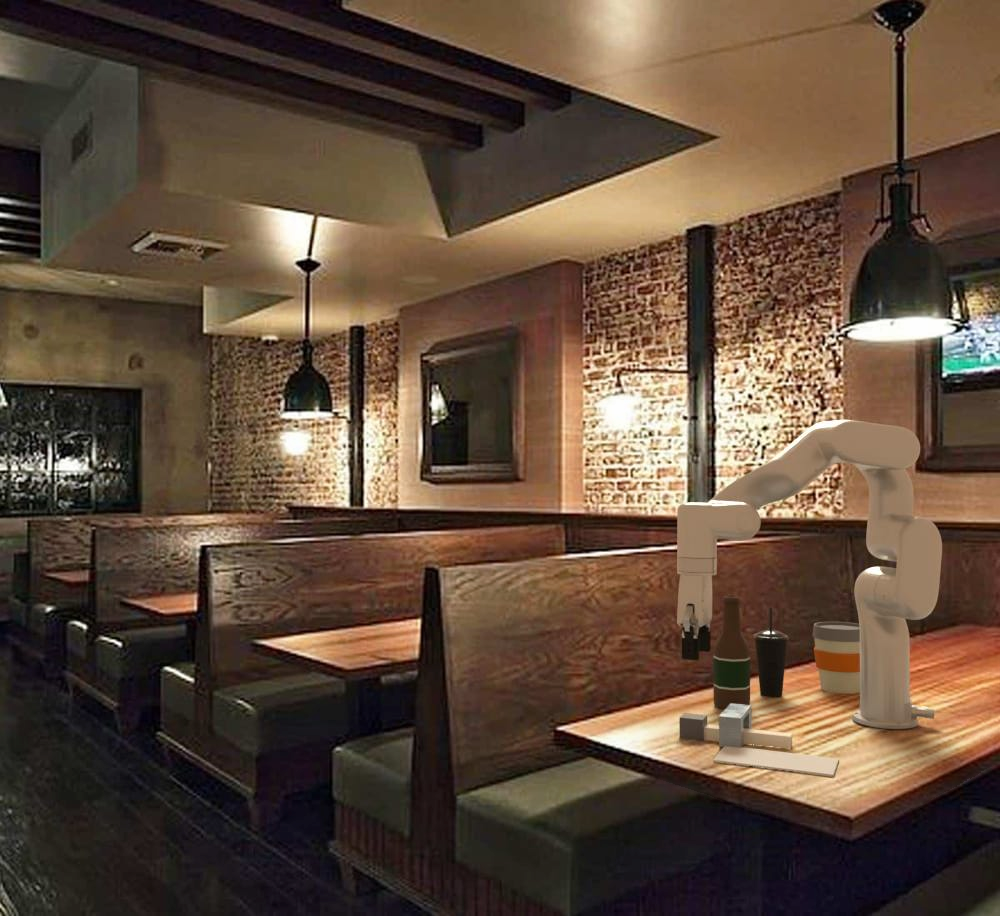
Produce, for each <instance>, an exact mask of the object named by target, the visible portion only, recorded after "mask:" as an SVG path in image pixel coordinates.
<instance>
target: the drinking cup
mask: <svg viewBox="0 0 1000 916" xmlns="http://www.w3.org/2000/svg"><path fill="white" fill-rule="evenodd" d="M768 610H769V611H768V612H769V615H768V619H769V620H768V621H769V622H768V626H769V627H768V629H765V630H761V631H758V632H757V633H754V634H753V638H754V642H755V651H756V662H757V663H756V664H757V672H758V684H759V693H760V694H759V695H760V696H762V697H766V698H781V697H782V696H783V689H784V677H785V666H786V651H787V645H788V644H787V643H788V640H789V636H788V635H787V634H785V633H783V632H781V631H779V630H775V629H773V607H769V608H768Z"/></svg>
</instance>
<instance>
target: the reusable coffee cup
mask: <svg viewBox="0 0 1000 916" xmlns="http://www.w3.org/2000/svg"><path fill="white" fill-rule="evenodd" d="M812 637H813V640H814V648H813V652H814V659H815V666H816V668H817V669H818V676H819V683H820V689H821V690H822V691H825V692H829V693H834V694H843V695H845V694H846V695H849V694H850V695H851V694H860V629H859V623H855V622H848V621H847V622H846V621H820V622H819V621H818V622H815V623H814V624H813V629H812Z"/></svg>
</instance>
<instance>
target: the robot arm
mask: <svg viewBox="0 0 1000 916" xmlns="http://www.w3.org/2000/svg"><path fill="white" fill-rule="evenodd" d="M920 453H921V445H920V441H919V438H918V437H917V435H916V434H915V433H914V432H913V431H912V430H910V429H908V428H906V427H905V426H903V427H902V426H898V425H889V424H882V423H875V422H874V423H873V422H867V421H859V420H853V419H851V420H850V419H839V420H828V421H822V422H818V423H815V424H814V425H811V426H810V427H809V428H808V429H806V430H805V431H804V432H803V433H802V434H800V435H799V436H797V438H795V440H794V441H792V442H791V443H790V444H788V445H787V446H786V447H785V448H784V449H783V450H780V452H779V453H778V454H777V455H776V456H774V457H773V458H771V459H770V460H769V461H767V462H766V463H764V464H762V465H760V466H758V467H756V468H755V469H753V470H752V471H750V472H749V473H746V474H745V475H742V476H740V477H739V478H737V479H736V480H734V481H733V482H731V483H730V484H728V485H727V486H726V487H724V488H723V489H722V490H721V491H719V492H718V493H717V494H716V495H714V496H713V497H712V498H711V499H709V501H708V502H684V503H681V504H679V506H678V508H677V519H676V520H677V528H676V530H677V532H676V533H677V535H676V536H677V537H676V538H677V541H676V542H677V546H676V548H677V552H676V553H677V555H676V560H677V561H676V569H677V570H676V573H677V574H678V575H680V577H679V583H678V593H677V595H678V596H677V610H676V611H677V615H676V616H677V617H676V624H678V627H682V628H681V630H682V633H681V659H683V660H689V661H698V660H700V652H706V653H709V652H710V651H711V648H712V647H711V641H712V640H711V639H712V638H711V622H712V618H713V578H712V577H713V576H716V575H717V573H718V572H717V571H718V569H717V568H718V566H717V565H718V557H717V556H718V555H717V554H718V551H717V549H718V548H717V547H718V542H717V541H718V540H719V539H722V540H723V539H724V540H729V541H734V542H735V541H736V542H737V541H739V542H740V541H747V540H749V539H751V538H753V537H754V536H755V535H756V534H757V533H758V532H759V531H760V529H761V523H762V520H761V516H760V513H759V511H757V510H758V509H760V508H762V507H764V506H765V505H768V504H772V503H776V502H779V501H784V500H786V499H789V498H791V497H793V496H796V495H798V494H800V493H801V492H802V491H803V490H804V489H806V488H807V487H808V486H809V485H810V484H812V483H813V482H814V481H815V480H816V479H817V478H819V477H820V476H821V475H822V474H823V473H824V472H826V471H827V470H828V469H829V468H830V467H832V466H833V465H835V464H849V463H850V464H852V465H853V466H854V467H856V469H858V470H859V472H860V473H861V474H862V476H863V477H864V479H865V481H866V483H867V486H868V491H869V492H868V497H869V498H868V511H867V525H866V535H865V536H866V539H865V541H866V548H867V550H868V552H869V554H871V555H872V556H874V557H875V558H877V559H879V560H883V561H890V562H896V567H890V566H889V567H888V566H872V567H869V568H866V569H865V570H863V571H862V572H861V573H860V574H858V577H857V578H856V580H855V583H854V593H853V594H854V600H855V605H856V610H857V615H858V624H859V629H860V692H859V709H858V710H855V711H853V712H852V713H851V720H852V721H854V723H855V722H856V723H858V724H860V725H863V726H867V727H871V728H878V729H887V730H907V729H912V728H915V727H918V725H919V718H925V719H933V720H934V719H935V709H934V708H929V707H928V706H918V705H916V704H913V699H912V698H911V686H910V685H911V683H910V682H911V681H910V680H911V679H910V677H911V673H910V672H911V670H910V669H911V668H910V667H911V663H910V660H911V659H910V658H911V657H910V652H911V651H910V649H911V648H910V646H911V644H910V641H911V640H910V639H911V638H910V632H909V628H908V624H907V620H912V621H916V620H917V621H918V620H923V619H925V618H926V617H928V616H929V615H931V614H932V612H933V610H934V609H935V607H936V605H937V602H938V596H939V591H940V581H941V579H940V578H941V568H942V567H941V566H942V557H943V556H942V555H943V542H942V537H941V534H940V531H939V529H938V527H937V526H936V524H935V523H933V521H931V520H930V519H929V518H926V517H923V516H920V515H914V498H915V497H914V496H915V495H914V485H913V481H912V479H911V476H910V474H909V472H908V471H907V468H910V467H911V466H913V465H914V464H915V463H916V462H917V461H918V459H919V457H920V455H921V454H920Z"/></svg>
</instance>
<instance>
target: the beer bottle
mask: <svg viewBox="0 0 1000 916" xmlns="http://www.w3.org/2000/svg"><path fill="white" fill-rule="evenodd" d="M722 602H723V614H722V616H723V617H722V618H723V619H722V628H721V633H720V635H719V636H718V637H717V639H716V641H715V644H714V646H713V656H712V657H713V660H712V661H713V662H712V663H713V666H712V667H713V670H712V671H713V679H712V681H713V687H712V688H713V705H714V707H716V708H717V707H718V708H717V709H719V708H720V710H723V709H726V708H727V707H728V706H729V705H730V703H734V704H744V705H751V654H750V653H751V652H750V646H749V644H748V641H747V639H746V638H745V637H744V635H743V632H742V628H741V615H740V613H741V611H740V603H741V598H740V597H739V596H737V595H726V596H723V599H722Z"/></svg>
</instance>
